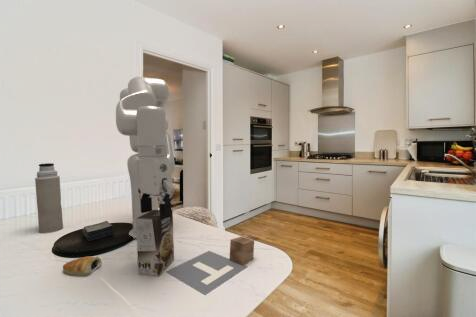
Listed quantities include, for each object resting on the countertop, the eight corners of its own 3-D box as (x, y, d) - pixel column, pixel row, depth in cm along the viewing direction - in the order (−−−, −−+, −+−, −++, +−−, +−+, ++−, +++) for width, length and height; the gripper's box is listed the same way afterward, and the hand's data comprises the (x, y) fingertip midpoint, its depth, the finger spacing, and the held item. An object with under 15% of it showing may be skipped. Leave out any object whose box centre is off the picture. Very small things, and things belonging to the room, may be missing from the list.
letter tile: (165, 273, 65) (165, 271, 65) (209, 252, 77) (208, 250, 77) (205, 297, 54) (205, 295, 54) (248, 268, 67) (248, 266, 67)
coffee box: (159, 279, 62) (156, 219, 61) (137, 277, 64) (134, 218, 62) (175, 262, 71) (173, 209, 70) (155, 260, 72) (153, 208, 71)
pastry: (55, 276, 65) (54, 263, 64) (74, 264, 71) (74, 251, 71) (88, 277, 64) (87, 263, 64) (104, 265, 71) (103, 252, 70)
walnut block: (229, 260, 70) (230, 239, 70) (240, 255, 74) (241, 236, 74) (242, 265, 67) (243, 244, 67) (253, 260, 71) (254, 240, 71)
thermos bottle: (58, 225, 106) (53, 162, 104) (66, 228, 102) (62, 163, 100) (35, 231, 99) (30, 164, 97) (43, 234, 95) (38, 164, 93)
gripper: (183, 152, 62) (186, 216, 63) (149, 152, 73) (151, 207, 74) (157, 153, 56) (160, 224, 57) (124, 153, 68) (127, 212, 69)
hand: (155, 214), depth 66 cm, fingers open, 9 cm apart
